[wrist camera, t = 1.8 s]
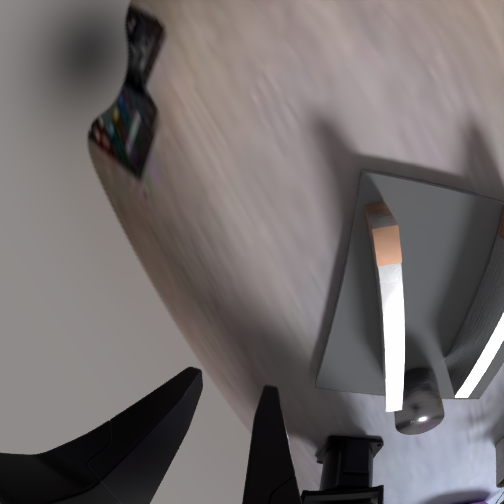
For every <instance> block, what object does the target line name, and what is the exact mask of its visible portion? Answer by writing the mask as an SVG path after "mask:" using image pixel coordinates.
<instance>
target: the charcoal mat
mask: <svg viewBox="0 0 504 504" xmlns="http://www.w3.org/2000/svg"><path fill="white" fill-rule="evenodd" d="M384 201H385V202H386V204H387V206H388V208H389V209H390V211H391V213H392V215H393V216H394V218H395V220H396V222H397V224H398V228H399V236H400V245H401V256H402V263H401V269H402V283H403V301H404V373H405V372H407V371H409V370H412V369H417V368H426V369H429V370H431V371H433V372H434V373H435V375H436V378H437V382H438V386H439V391H440V395H441V399H479V398H480V397H481V395H482V394H483V393H484V391H485V390H486V388H487V387H488V385H489V384H490V382H491V381H492V379H493V378H494V376H495V375H496V373H497V372H498V370H499V369H500V367H501V366H502V364H503V362H504V340H503V341H502V343H501V345H500V347H499V349H498V350H497V352H496V354H495V355H494V357H493V359H492V361H491V362H490V364H489V365H488V367H487V369H486V370H485V372H484V373H483V375H482V377H481V378H480V380H479V381H478V383H477V384H476V386H475V387H474V389H473V390H472V391H471V393H470V394H469V396H468V397H455V396H454V392H453V388H452V385H451V381H450V377H449V374H448V370H447V367H446V364H445V359H446V357H447V355H448V353H449V351H450V350H451V348H452V346H453V344H454V342H455V340H456V338H457V336H458V334H459V332H460V330H461V327H462V325H463V323H464V321H465V319H466V317H467V314H468V312H469V310H470V308H471V305H472V303H473V301H474V298H475V296H476V293H477V291H478V289H479V286H480V283H481V281H482V278H483V276H484V273H485V270H486V267H487V265H488V262H489V259H490V256H491V253H492V250H493V247H494V244H495V240H496V237H497V231H498V227H499V224H500V220H501V216H502V212H503V208H504V202H502V201H499V200H496V199H492V198H489V197H485V196H481V195H478V194H474V193H470V192H467V191H463V190H459V189H455V188H451V187H447V186H443V185H438V184H434V183H430V182H425V181H421V180H416V179H412V178H407V177H402V176H397V175H392V174H387V173H381V172H376V171H370V170H365V169H361V176H360V183H359V189H358V196H357V202H356V208H355V214H354V220H353V225H352V231H351V236H350V241H349V246H348V252H347V256H346V261H345V266H344V271H343V275H342V280H341V285H340V289H339V293H338V298H337V302H336V306H335V310H334V314H333V318H332V322H331V326H330V330H329V334H328V338H327V342H326V345H325V349H324V353H323V356H322V360H321V363H320V367H319V370H318V374H317V377H316V382H315V388H322V389H329V390H336V391H344V392H353V393H361V394H371V395H382V396H385V393H384V381H383V363H382V343H381V327H380V315H379V303H378V293H377V284H376V275H375V267H374V259H373V252H372V245H371V240H370V237H369V231H368V225H367V219H366V213H365V207H364V205H368V204H373V203H379V202H384Z"/></svg>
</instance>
